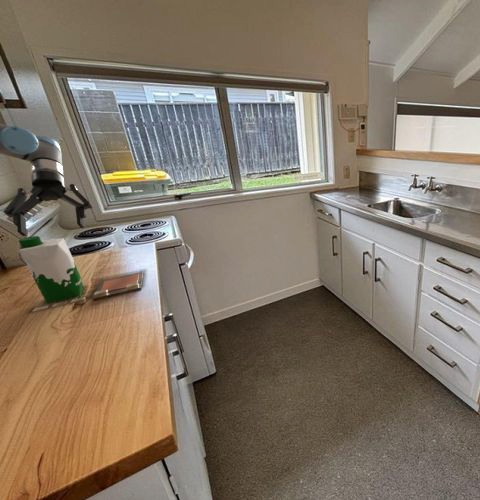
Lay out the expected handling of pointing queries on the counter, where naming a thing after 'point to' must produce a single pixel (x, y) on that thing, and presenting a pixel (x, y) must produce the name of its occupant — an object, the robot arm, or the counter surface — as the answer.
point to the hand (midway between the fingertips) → (52, 229)
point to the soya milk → (52, 268)
